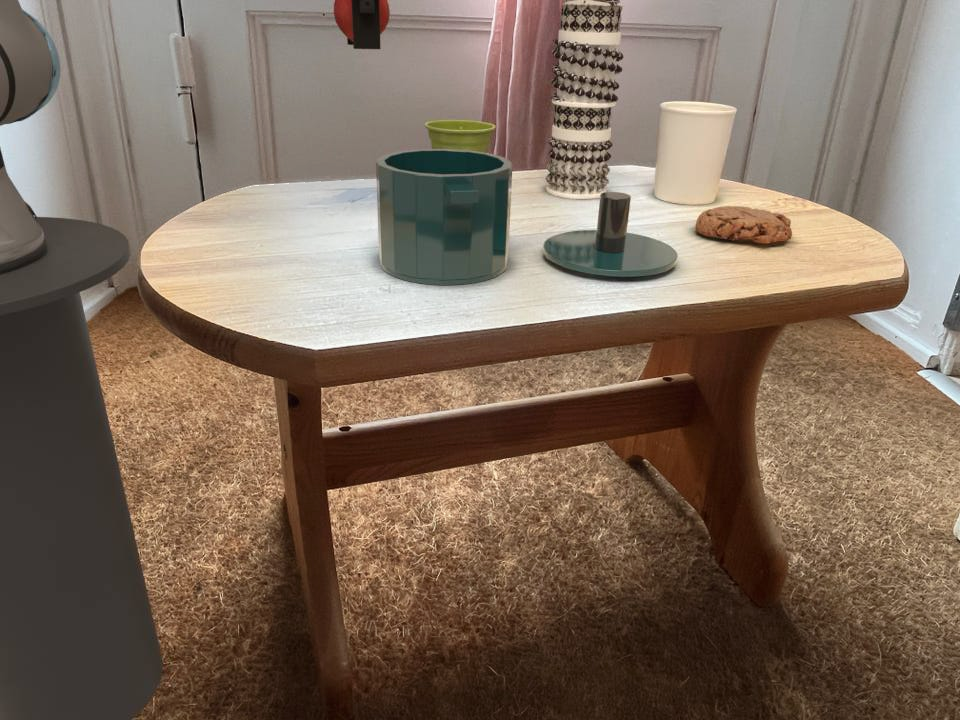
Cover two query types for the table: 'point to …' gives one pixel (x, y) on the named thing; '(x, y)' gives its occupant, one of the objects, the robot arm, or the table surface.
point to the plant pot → (460, 134)
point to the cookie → (744, 224)
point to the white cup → (691, 150)
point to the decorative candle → (584, 97)
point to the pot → (443, 215)
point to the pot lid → (610, 245)
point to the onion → (345, 16)
